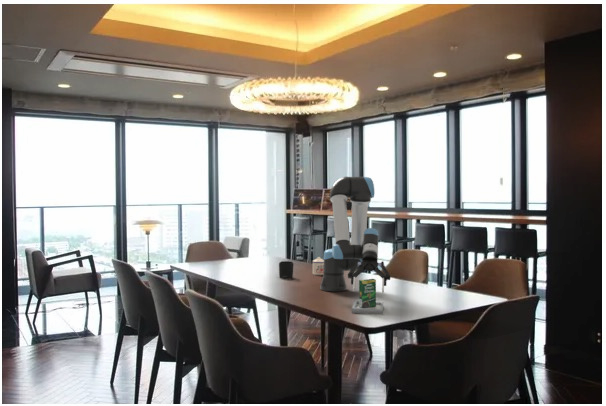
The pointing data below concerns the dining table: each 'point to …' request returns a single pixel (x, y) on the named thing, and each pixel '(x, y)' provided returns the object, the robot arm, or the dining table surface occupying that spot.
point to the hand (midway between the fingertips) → (368, 290)
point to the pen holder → (286, 269)
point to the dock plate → (370, 310)
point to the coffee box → (367, 293)
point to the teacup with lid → (318, 266)
